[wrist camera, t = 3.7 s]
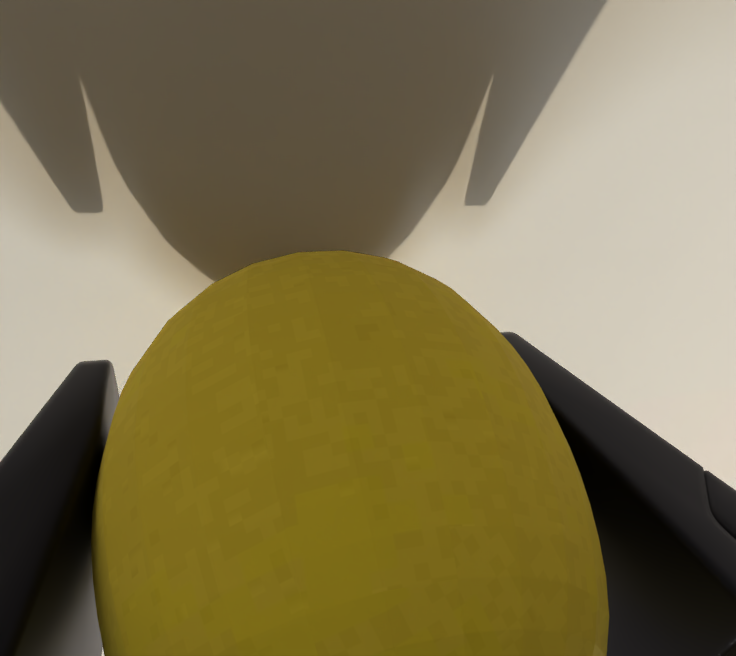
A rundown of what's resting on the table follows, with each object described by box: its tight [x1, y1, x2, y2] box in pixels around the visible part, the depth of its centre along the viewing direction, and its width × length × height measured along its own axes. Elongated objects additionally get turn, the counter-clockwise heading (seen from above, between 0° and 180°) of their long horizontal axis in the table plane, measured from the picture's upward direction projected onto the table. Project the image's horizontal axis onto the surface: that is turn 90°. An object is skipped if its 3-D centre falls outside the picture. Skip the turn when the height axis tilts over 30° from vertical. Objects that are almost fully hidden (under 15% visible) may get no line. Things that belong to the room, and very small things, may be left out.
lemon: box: [91, 250, 609, 656], centre depth 8 cm, size 6×6×8 cm
